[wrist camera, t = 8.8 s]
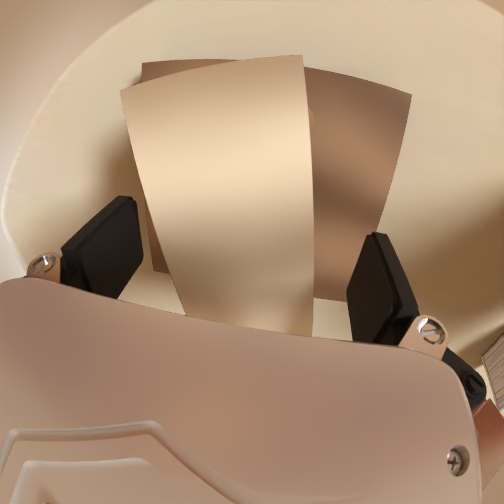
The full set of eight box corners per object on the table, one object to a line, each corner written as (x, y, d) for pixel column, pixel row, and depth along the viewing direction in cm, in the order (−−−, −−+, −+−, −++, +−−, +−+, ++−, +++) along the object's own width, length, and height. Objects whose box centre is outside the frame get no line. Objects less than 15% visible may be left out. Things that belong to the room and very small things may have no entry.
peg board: (345, 283, 20) (353, 335, 16) (163, 254, 21) (136, 298, 17) (398, 92, 12) (438, 100, 8) (158, 63, 13) (110, 63, 9)
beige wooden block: (310, 305, 15) (310, 366, 12) (222, 305, 16) (205, 361, 13) (298, 65, 9) (302, 54, 5) (173, 83, 10) (119, 90, 6)
